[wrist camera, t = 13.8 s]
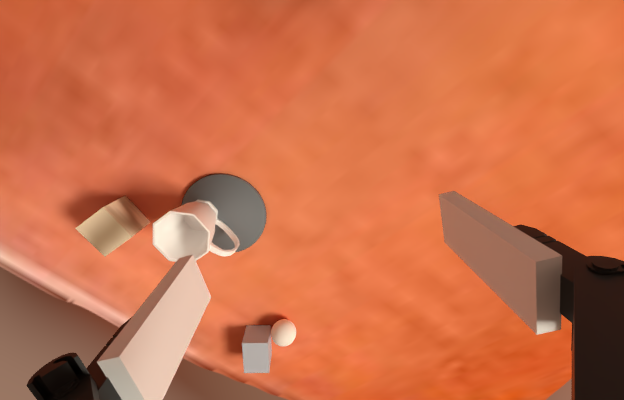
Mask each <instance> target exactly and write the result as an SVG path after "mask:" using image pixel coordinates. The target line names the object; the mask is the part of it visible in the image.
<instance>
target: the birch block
mask: <svg viewBox="0 0 624 400" xmlns="http://www.w3.org/2000/svg"><path fill="white" fill-rule="evenodd" d="M149 223H150V221H149V220H148V219H147V218H146V217H145V216H144V214H143V213H142V212H141V211H140V210H139V209H138V208H137V207H136V206H135V205H134V204H133V203H132V202H131V201H130V200H129V199H128V198H127V197H126V196H123V197H121V198H119V199H118V200H116V201H114V202H112V203H110V204H108V205H106V206H104V207H102V208H101V209H100V210H99V211H97V212H96V213H95V214H93V215H92V216H91V217H89V218H88V219H87V220H86V221H84V222H83V223H82V224H80V225H79V226H78V227H76V228H75V229H76V230H77V231H78V232H80V233H81V234H82V235H83V236H84V237H85V238H86V239H87V240H88V241H89V242H90V243H91V244H92V245H93V246H94V247H95V248H96V249H97V250H98V251H99V252H101V253H102V254H103V255H104V256H107V255H108V254H109V253H111V252H112V251H113V250H115V249H116V248H117V247H119V246H120V245H122V244H123V243H124V242H126V241H127V240H128V239H130V238H131V237H133V236H134V235H135V234H136V233H138V232H139V231H140V230H141V229H143V228H144V227H145V226H147V225H148V224H149Z"/></svg>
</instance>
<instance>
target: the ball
mask: <svg viewBox="0 0 624 400" xmlns="http://www.w3.org/2000/svg"><path fill="white" fill-rule="evenodd" d="M271 337H272V339H273V341H274V342H275V343H276V344H277V345H279V346H288V345H290V344H291V343H292V342H293V341H294V339H295V337H296V328H295V325H294V324H293V323H292V322H291V321H290V320H287V319H281V320H279V321H277V322H276V323H275V324H274V325H273V327H272V330H271Z"/></svg>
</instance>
